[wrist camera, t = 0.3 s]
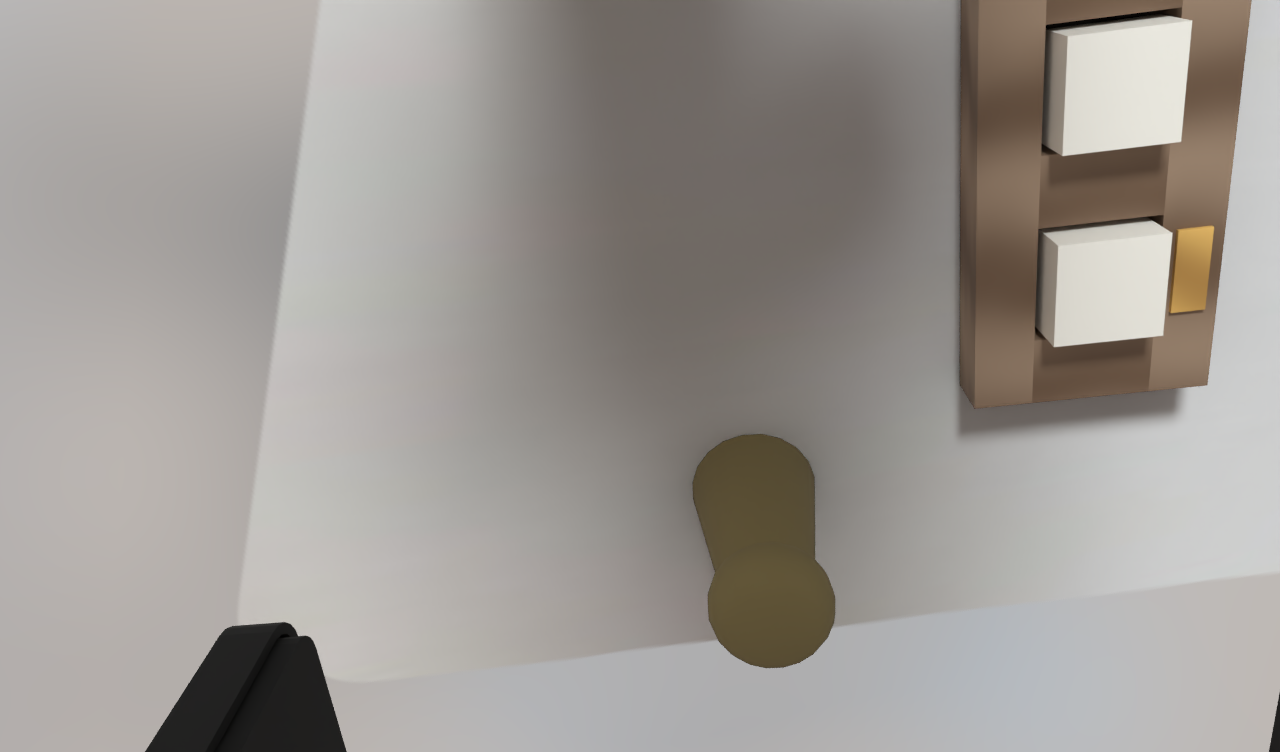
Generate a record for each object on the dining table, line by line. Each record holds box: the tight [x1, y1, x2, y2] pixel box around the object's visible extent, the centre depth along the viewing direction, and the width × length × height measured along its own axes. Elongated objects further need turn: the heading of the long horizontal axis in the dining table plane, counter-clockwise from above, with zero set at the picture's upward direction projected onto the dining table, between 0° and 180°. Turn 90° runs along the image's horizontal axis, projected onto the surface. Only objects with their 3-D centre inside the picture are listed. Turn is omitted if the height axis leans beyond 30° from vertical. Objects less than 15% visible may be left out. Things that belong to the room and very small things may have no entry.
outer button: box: [1035, 217, 1173, 347], centre depth 42 cm, size 4×4×2 cm
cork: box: [693, 434, 835, 668], centre depth 45 cm, size 6×6×11 cm
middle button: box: [1041, 14, 1192, 156], centre depth 39 cm, size 4×4×2 cm
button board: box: [960, 0, 1252, 409], centre depth 40 cm, size 27×10×3 cm, turn 7°
